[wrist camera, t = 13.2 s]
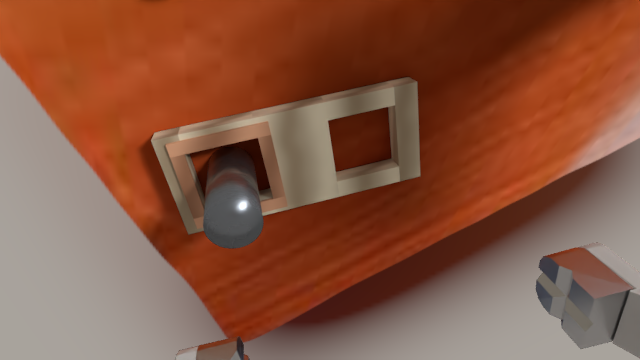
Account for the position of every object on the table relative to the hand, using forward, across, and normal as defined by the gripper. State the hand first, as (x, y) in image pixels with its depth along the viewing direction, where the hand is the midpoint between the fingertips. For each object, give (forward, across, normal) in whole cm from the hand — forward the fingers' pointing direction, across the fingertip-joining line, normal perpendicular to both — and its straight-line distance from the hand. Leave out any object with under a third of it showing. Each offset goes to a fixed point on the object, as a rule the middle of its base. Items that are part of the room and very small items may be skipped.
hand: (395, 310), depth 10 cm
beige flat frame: (+28, +1, +8) cm, 29 cm away
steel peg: (+28, +7, +8) cm, 30 cm away
